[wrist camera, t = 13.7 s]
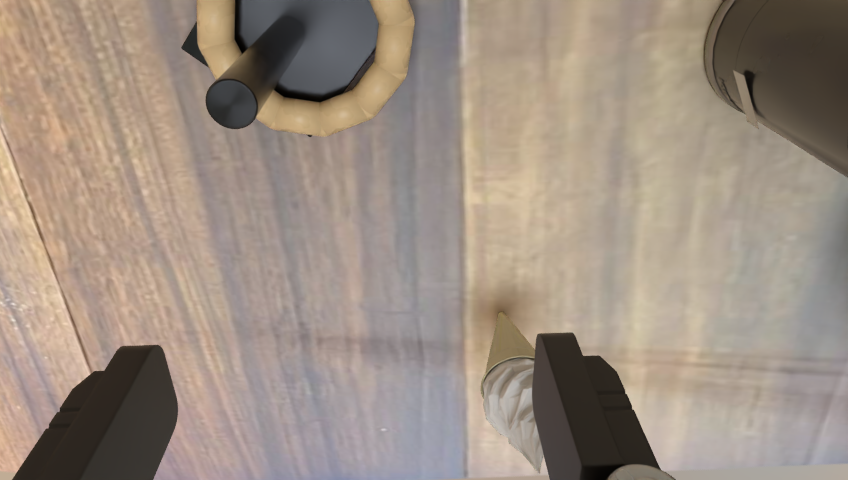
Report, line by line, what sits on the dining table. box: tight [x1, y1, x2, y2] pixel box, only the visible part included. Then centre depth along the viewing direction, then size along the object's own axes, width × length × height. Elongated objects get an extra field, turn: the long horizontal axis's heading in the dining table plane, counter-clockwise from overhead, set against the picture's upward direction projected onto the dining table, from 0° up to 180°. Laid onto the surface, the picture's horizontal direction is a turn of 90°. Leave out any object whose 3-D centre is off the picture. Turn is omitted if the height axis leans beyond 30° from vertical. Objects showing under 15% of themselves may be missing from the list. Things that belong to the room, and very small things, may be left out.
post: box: [181, 0, 379, 137], centre depth 31 cm, size 9×9×15 cm
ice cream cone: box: [481, 312, 544, 473], centre depth 42 cm, size 5×5×15 cm
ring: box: [197, 0, 415, 137], centre depth 35 cm, size 12×12×2 cm
